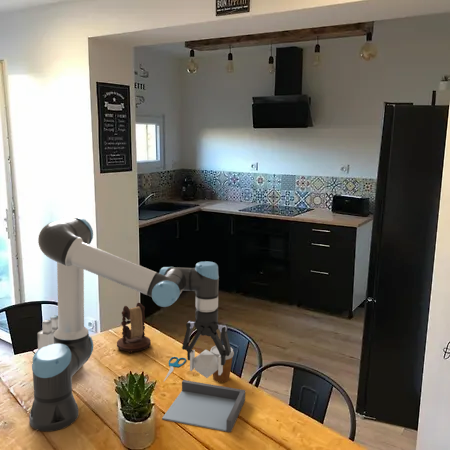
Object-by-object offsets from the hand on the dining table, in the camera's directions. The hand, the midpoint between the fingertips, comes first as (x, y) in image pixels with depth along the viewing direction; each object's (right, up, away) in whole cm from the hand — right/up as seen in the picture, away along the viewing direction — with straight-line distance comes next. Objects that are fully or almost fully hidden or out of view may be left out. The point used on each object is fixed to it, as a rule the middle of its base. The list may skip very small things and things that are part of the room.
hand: (206, 371), depth 157 cm
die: (0, -1, 0) cm, 1 cm away
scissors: (-15, -9, +30) cm, 34 cm away
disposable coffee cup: (+5, -10, +23) cm, 26 cm away
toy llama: (-59, -8, +29) cm, 66 cm away
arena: (0, -14, +2) cm, 14 cm away
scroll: (-34, -5, +49) cm, 60 cm away
